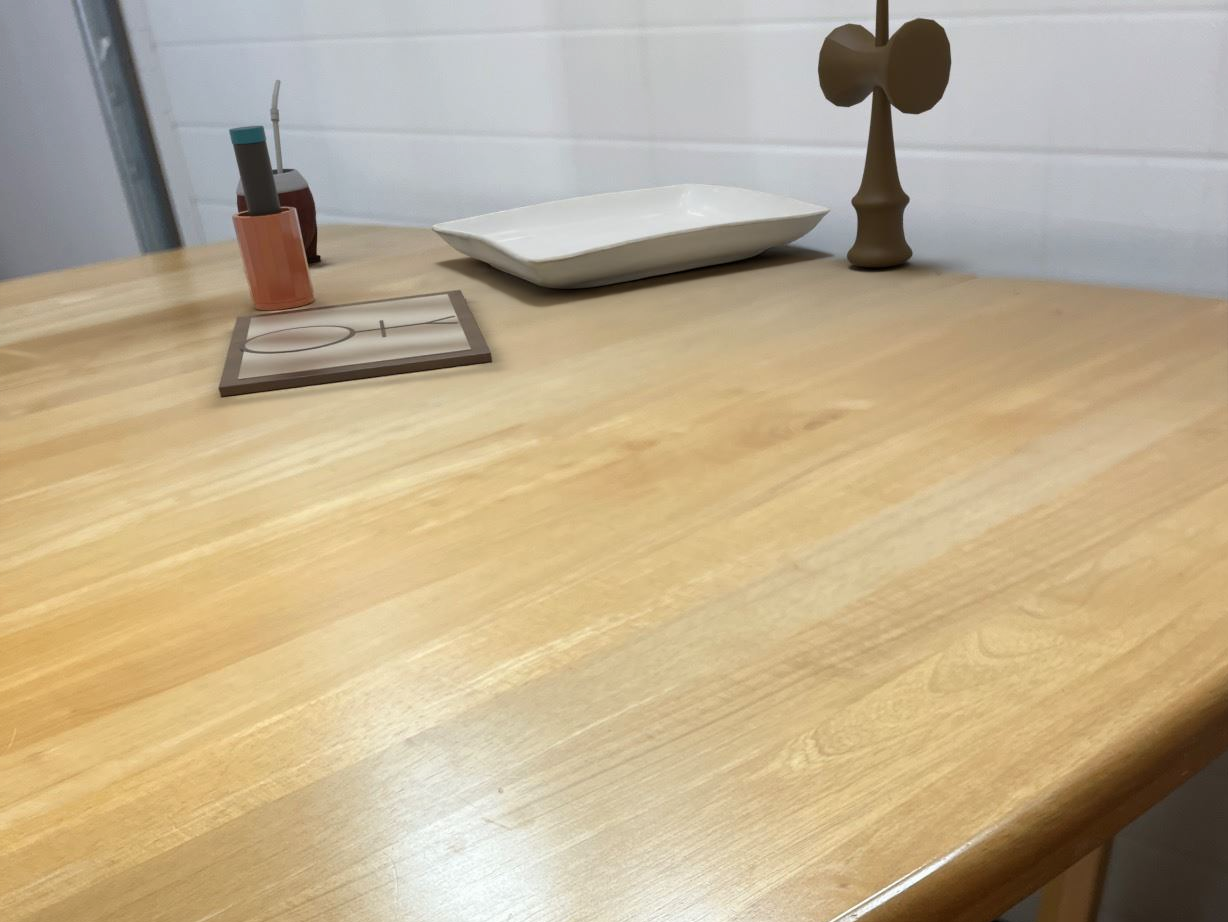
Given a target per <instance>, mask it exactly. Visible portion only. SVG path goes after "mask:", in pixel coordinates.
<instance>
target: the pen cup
mask: <svg viewBox="0 0 1228 922" xmlns="http://www.w3.org/2000/svg"><path fill="white" fill-rule="evenodd" d="M231 219H232V223H233V228H234V232H235V235H236V240H237V244H238V249H239V253H240V257H241V261H242V265H243V270H244V274H245V278H246V282H247V287H248V291H249V294H250V299H251V302H252V305H253V308H254V309H256V310H260V311H279V310H280V311H281V310H286V309H287V310H288V309H293V308H298V307H303V306H307V305H309V304H311V303H313V302H314V301H316V299H315V294H314V293H315V292H314V286H313V282H312V278H311V277H312V276H311V274H310V268H309V263H307V258H306V253H305V249H304V244H303V239H302V234H301V230H300V225H299V220H298V216H297V211H296V208H294V207H281V213H276V214H270V215H262V216H249V212H248V211H243V212H239V213H238V212H237V213H234V214H232V215H231Z"/></svg>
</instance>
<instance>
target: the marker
mask: <svg viewBox="0 0 1228 922" xmlns="http://www.w3.org/2000/svg"><path fill="white" fill-rule="evenodd" d="M228 132H229V136H230V140H231V141H230V142H231V144H232V146H233V151H234V155H235V156H234V157H235V159H236V164H237V169H238V172H239V179H240V178H241V182H242V186H243V191H244V195H245V199H246V204H247V208H248V212H249V216H262V215H270V214H276V213H281V207H280V203H279V198H278V194H277V189H276V184H275V180H274V175H273V171H272V170H273V167H272V162H271V157H270V153H269V149H268V144H267V135H266V132H265V127H264V126H263V125H247V126H240V127H239V126H238V127H234V128H230V129H229V130H228Z"/></svg>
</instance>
